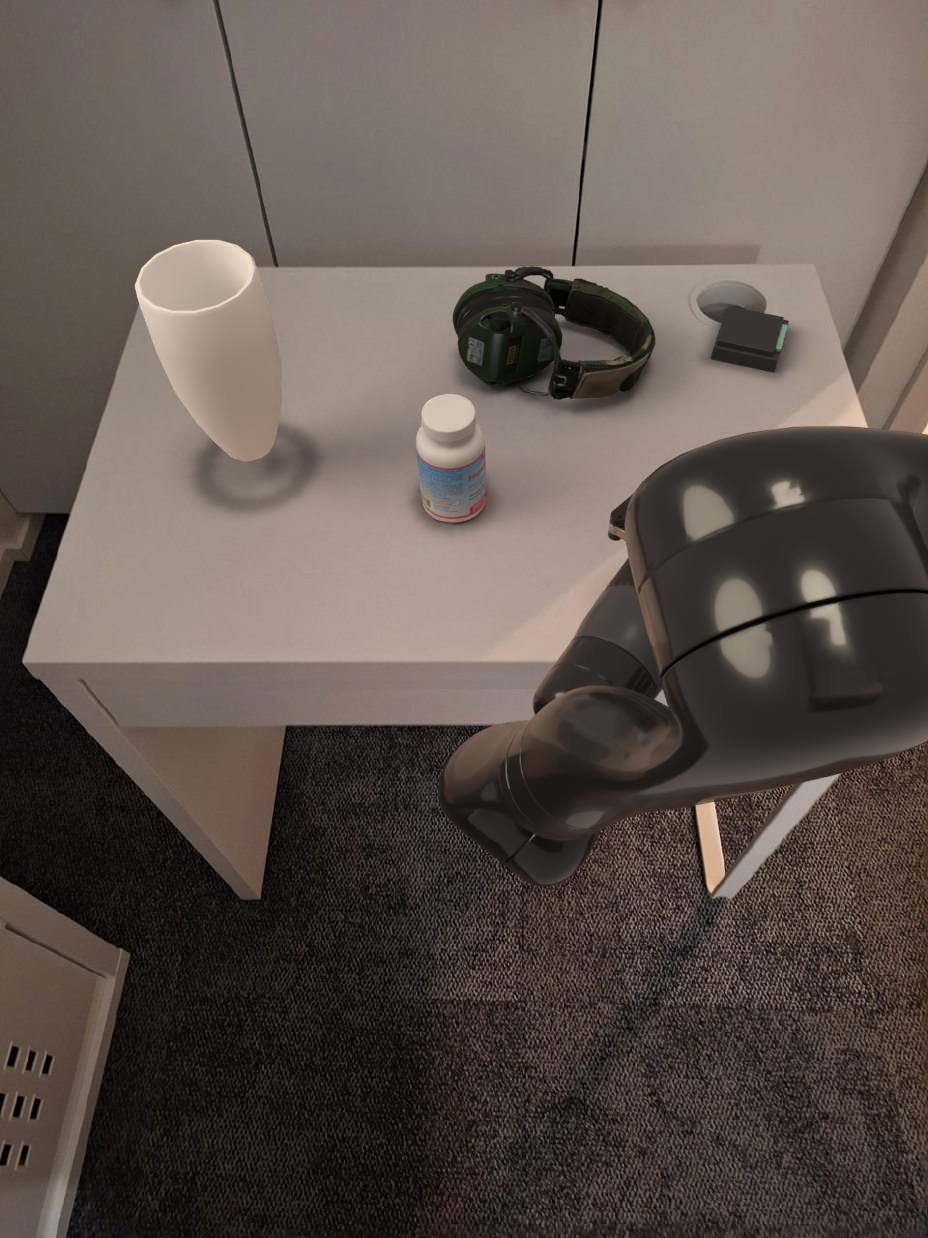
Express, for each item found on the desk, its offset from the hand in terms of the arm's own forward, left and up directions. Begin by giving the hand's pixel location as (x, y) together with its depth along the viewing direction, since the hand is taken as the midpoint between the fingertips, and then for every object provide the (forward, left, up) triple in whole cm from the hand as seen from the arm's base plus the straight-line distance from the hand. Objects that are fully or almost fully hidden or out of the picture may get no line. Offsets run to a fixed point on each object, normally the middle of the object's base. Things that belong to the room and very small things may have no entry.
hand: (744, 479), depth 73 cm
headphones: (+22, -19, -10) cm, 31 cm away
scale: (+3, -29, -10) cm, 31 cm away
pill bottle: (+25, +2, -10) cm, 27 cm away
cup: (+45, +4, -10) cm, 46 cm away
